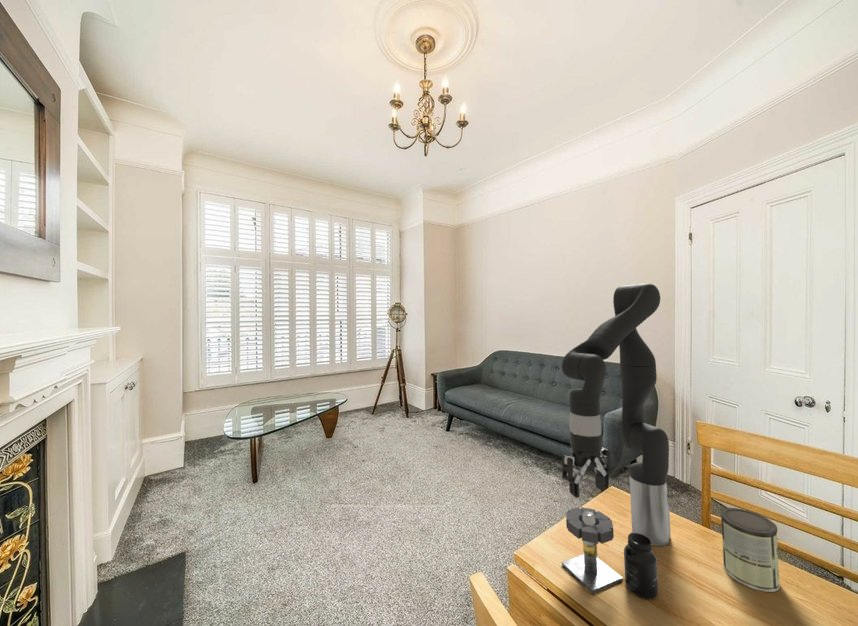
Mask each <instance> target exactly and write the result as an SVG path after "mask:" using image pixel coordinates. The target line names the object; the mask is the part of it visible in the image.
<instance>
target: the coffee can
mask: <svg viewBox="0 0 858 626" xmlns="http://www.w3.org/2000/svg"><path fill="white" fill-rule="evenodd" d="M719 513H720V519H721V535H722V537H721V538H722V554H723V555H722V558H723V559H722V560H723V569H724V571H725V572H726V574H727V575H728V576H730V577H731V578H732V579H733V580H734V581H736V582H738V583H739V584H741V585H744V586H746V587H747V588H750V589H753V590H756V591H759V592H764V593H775V592H777V591H779V590H780V588H781V585H780V574H779V573H780V572H779V557H778V556H779V555H778V554H779V553H778V552H779V551H778V537H777V536H778V535H777V534H778V527H777V525H776V523H774V522H773V521H772V520H770V519H769V518H768V517H766V516H764V515H761V514H759V513H757V512H753V511H750V510H747V509H742V508H737V507H726V508H723V509H721V510H720V512H719Z"/></svg>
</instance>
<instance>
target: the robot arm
mask: <svg viewBox="0 0 858 626" xmlns="http://www.w3.org/2000/svg"><path fill="white" fill-rule="evenodd" d="M612 302H613V311H614V315H615V316H614V317H613V316H612V317H611V318H609V319H608V320H606V321H605V322H603V323H601V324H600V325H599V326H598V327H597V328H595V330H593V332H592V333H591V335H590V336H589V337H588V338H587V340H585V341H583V342H581V343H580V344H578V345H576V346H575V347H573V348H572V349H571V350H569V351H568V352H567V353H566V354H565V356H564V357H563V359H562V362H561V370H562V374H564V375H565V376H566V377H567V378H570V379H572V380H578V381H584V383H583V386H582V387H581V388H580V387H578V388H574V389H572V390H571V391H570V393H569V441H570V447H571V450H572V454H571V455H565V454H563V455H562V457H561V458H562V459H561V463H562V464H561V477H562V479H563V480H565V481H567V482H568V483H569V485H568V486H569V493H570V494H571V496H573V497H574V498H576V499H577V498H580V483H579V481H580V479H581V477H583V476H584V475H585V473H586V472H588V471H590V470H591V471H593V470H594V471H595V473H594V481H595V487H596V489H598V490H600V491H604V490H605V487H606V479H605V477H606V475H607V473H611V472H612V465H611V464H612V463H611V453H610V452H611V451H610V450H609V449H607V448H605V447H603V435H602V434H603V433H602V432H603V431H602V420H601V419H602V418H601V407H600V405H601V404H600V397H601V393H602V388H603V385H604V383H605V382H604V380H605V378H606V373H607V366H606V363H605V361H604V360H608V359H609V358H610V357H611V356H612V355H613V354H614V352H615V351H616V350H617V348H619V366H620V381H621V397H622V398H621V399H622V400H621V401H622V402H621V404H622V405H621V407H622V408H621V409H622V410H621V427H620V429H621V431H620V432H621V433H620V434H621V441H622V443H623V445H624V446H625V447H626V448H627V449H629V450H630V451H632V452H635V454H636V453H637V454H638V455H641V456H642V460H641V461H640V462H639V461H638V462H634V463H631V464H630V466H629V467H628V468H629V469H628V470H629V490H630V493H629V494H630V514H631V533H638V534H642V535H644V536H646V537H647V538H649V539H650V541H651V546H656V547H663V546H667V545H668V544H669V542H670V539H671V515H670V505H669V504H668V492H667V491H668V490H667V477H668V473H669V470H670V469H669V468H670V464H669V463H670V459H669V457H670V443H669V438H668V434H667V433H666V432H665V431H664V430H663V429H662V428H660V427H657V426H654V425H652V424H649V423H646V422H645V419H644V410H645V409H644V407H645V403H646V401H647V399H648V397H649V396H650V395H651V393H652V391H653V390H654V388H655V386H656V384H657V379H658V378H657V376H658V375H657V363H656V358H655V355H654V353H653V352H652V350H651V348H650V347H649V346H648V345H647V343H646V342H645V340H643V338H642V337H641V335H640V333H639V331H638V330H637V327H639V326H640V325H642V323H644V322H645V321H646V320H647V319H649V317H650V316H652V315H654V313H655V312H657V310H658V308H659V307H660V305H661V294H660V291H659V289H658V287H657V286H656V285H654V283H653V284H652V283H647V282H646V283H637V284H634V283H633V284H629V285H628V284H626V285H620V286H618V287H617V288H616V289H615V290H614V293H613V300H612ZM577 468H578V469H579V470H578V469H577Z"/></svg>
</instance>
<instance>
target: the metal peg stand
mask: <svg viewBox="0 0 858 626" xmlns="http://www.w3.org/2000/svg"><path fill="white" fill-rule="evenodd" d="M582 517H583V523H584V524H586V525H591V526H595V525H596V524H595V514H593V513H592V512H589V511H584V512H583V513H582ZM582 545H583V546H582V550H583V554H580V555H577V556H575V557H572V558H569V559H567V560H565V561H561V566H562V567H563V568H564V569H565V570H566V571H567V572H568V573H569V574H571V576H572V577H574V578H575V579H576V580H577V581H578V582H579V583H580V584H581V585H582V586H583V587H585V589H586V590H588V592H589V593H590V594H591V595H594V594H596V593H599V592H600V591H603V590H604V589H607V588H610V587H611V586H615V585H616V584H618V583H620V582H623V580H624V579H623V576H621V575H620V574H619V573H617V572H616V571H615V570H614V569H612V568H611V567H610V566H609V565H608V564H606V563H605V562H604V561H603V560H601V559H600V558H599V557H598V544H596V543H591V542H587V541H582Z"/></svg>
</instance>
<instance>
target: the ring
mask: <svg viewBox="0 0 858 626" xmlns="http://www.w3.org/2000/svg"><path fill="white" fill-rule="evenodd" d="M584 511H589V512H592V513H593V514H595V524H596V525H595V526H591V525H586V524H584V523H583V517H582V513H583V512H584ZM565 516H566V517H565V519H566V520H565V521H566V522H565V523H566V529H567V531H568V532H569V533H570V534H571V535H573V536H574V537H576V538H577V539H579V540H581V541H582V542H583V541H587V542H591V543H596V544H597V545H599V543H600V544H601V545H602V544H605V543H608V542H612V541H613V539H615V538H614V537H615V536H614V525H613V524H614V523H613V520H612V519H611V518H610V517H609V516H607V515H606V514H605V513H603V512H601V511H599V510H596V508H595V509H593V508H588V507H583V506H581V507H578V506H577V507H573V508H571V509H567V511H566V515H565Z"/></svg>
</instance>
